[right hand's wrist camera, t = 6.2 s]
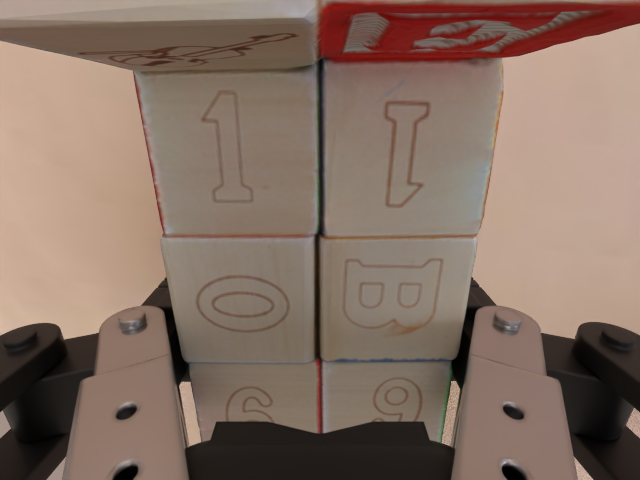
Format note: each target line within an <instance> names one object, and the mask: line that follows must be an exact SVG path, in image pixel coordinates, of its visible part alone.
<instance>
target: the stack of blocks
mask: <svg viewBox="0 0 640 480" xmlns="http://www.w3.org/2000/svg"><path fill="white" fill-rule="evenodd" d="M639 23H640V0H0V41H4V42H9V43H13V44H18V45H22V46H27V47H31V48H36V49H40V50H45V51H50V52H54V53H59V54H64V55H68V56H73V57H77V58H82V59H87V60H91V61H95V62H100V63H104V64H108V65H112V66H116V67H120V68H125V69H129V70H133V74H134V81H135V87H136V93H137V98H138V103H139V108H140V113H141V118H142V124H143V129H144V135H145V140H146V145H147V150H148V156H149V161H150V166H151V172H152V177H153V182H154V188H155V194H156V199H157V205H158V210H159V215H160V221H161V225H162V229H163V232H164V233H163V236H162V238H161V249H162V254H163V260H164V265H165V270H166V276H167V281H168V286H169V292H170V297H171V302H172V308H173V313H174V318H175V323H176V328H177V333H178V339H179V344H180V349H181V354H182V358H183V359H184V361H186V362H187V363H188V364H189V372H190V380H191V387H192V392H193V398H194V402H195V407H196V414H197V421H198V425H199V428H200V436H201V441H202V442H204V441H208V440H210V439H211V436H212V433H213V430H214V427H215V424H216V421H267V422H271V423H276V424H280V425H284V426H288V427H292V428H296V429H300V430H305V431H309V432H313V433H327V432H331V431H335V430H340V429H344V428H348V427H352V426H356V425H360V424H364V423H369V422H373V421H424V424H425V427H426V430H427V433H428V436H429V439H430V440H432V441H436V442H439V443H441V442H442V434H443V428H444V422H445V416H446V409H447V403H448V399H449V393H450V386H451V377H452V360H453V359H455V358H456V357H457V355H458V352H459V348H460V341H461V334H462V329H463V324H464V318H465V313H466V308H467V301H468V295H469V289H470V282H471V276H472V271H473V266H474V261H475V256H476V249H477V237H476V235H477V233H478V231H479V229H480V227H481V223H482V220H483V217H484V210H485V203H486V198H487V193H488V187H489V181H490V175H491V169H492V162H493V155H494V148H495V142H496V135H497V129H498V123H499V116H500V110H501V104H502V98H503V64H502V58H503V57H514V56H520V55H524V54H527V53H531V52H534V51H538V50H541V49H545V48H548V47H550V46H553V45H556V44H561V43H565V42H570V41H574V40H577V39H580V38H583V37H587V36H593V35H600V34H603V33H606V32H609V31H613V30H616V29H619V28H623V27H626V26H631V25H635V24H639Z"/></svg>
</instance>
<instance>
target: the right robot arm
mask: <svg viewBox="0 0 640 480" xmlns="http://www.w3.org/2000/svg"><path fill="white" fill-rule="evenodd" d="M451 381H456V382H457V384H458V386H459V388H460V394H459V399H458V405H457V411H456V417H455V422H454V428H453V434H452V440H451V446H448V445H445V444H442V443H439V442H436V441H432V440H430V439H429V436H428V433H427V430H426V427H425V424H424V421H373V422H369V423H364V424H360V425H356V426H352V427H348V428H344V429H340V430H335V431H331V432H327V433H313V432H309V431H305V430H300V429H296V428H292V427H288V426H284V425H280V424H276V423H271V422H267V421H216V424H215V427H214V430H213V433H212V436H211V439H210V440H208V441H204V442H201V443H198V444H195V445H192V446H189V440H188V434H187V428H186V422H185V417H184V411H183V405H182V399H181V394H180V389H179V385H180V383H181V382H191V380H190V372H189V364H188V363H187V362H186V361H184V359H183V358H182V354H181V349H180V344H179V339H178V333H177V328H176V323H175V318H174V313H173V308H172V302H171V297H170V292H169V286H168V281H167V277H166V278H165V280H164V281H162V282H161V284H160V285H159V286H158V288H156V289H155V290H154V292H153V293H152V294H151V295H150V296H149V297H148V298H147V299H146V301H145V302H144V303H143V304H142V305H141V306H137V307H132V308H128V309H125V310H122V311H120V312H118V313H116V314H114V315H112V316H111V317H109V318H108V319H107V320H105V321H104V322H103V324H102V325H101V327H100V330H99V333H96V334H92V335H86V336H81V337H76V338H70V339H65V340H64V339H63V336H62V333H61V330H60V328H59V326H57V325H55V324H51V323H38V324H32V325H27V326H24V327H20V328H17V329H14V330H12V331H9V332H7V333H5V334H3V335H1V336H0V412H1V411H2V410H3V412H4V414H5V416H6V418H7V420H8V422H9V425H10V427H11V429H10V430H9V431H8V432H7V433H6V434H5V435H4V436H3V437H1V438H0V480H46V479H47V478H48V477H49V476H50V475H51V474H52V472H53V471H54V470H55V469H56V468H57V466H58V465H59V464H60V463H61V462H62V460H63V459H64V458H65V457H66V461H65V466H64V472H63V477H62V480H578V477H577V472H576V466H575V461H574V457H575V458H576V459H577V460H578V462H579V463H580V464H581V465H582V466H583V468H584V469H585V470H586V471H587V472H588V474H589V475H590V476H591V477H592V478H593V480H640V438H639V437H637V436H636V435H635V434H634V433H633V432H632V431H631V430H630V429H629V428H628V427H627V426H626V424H627V421H628V419H629V417H630V415H631V413H632V411H633V408H636V409H637V410H638V411H639V412H640V335H638V334H636V333H634V332H632V331H629V330H627V329H624V328H621V327H618V326H615V325H611V324H607V323H600V322H588V323H584V324H582V325H580V326H579V328H578V331H577V334H576V337H575V339H570V338H565V337H560V336H554V335H549V334H544V333H541V330H540V327H539V325H538V324H537V323H536V321H535V320H533V319H532V318H531V317H529V316H528V315H526V314H524V313H522V312H520V311H518V310H515V309H512V308H508V307H503V306H497V305H496V304H495V303H494V302H493V301H492V300H491V298H490V297H489V296H488V295H487V294H486V293H485V292H484V290H483V289H482V288H481V287H479V285H478V283H477V282H476V281H475V280H473V278H472V277H471V282H470V289H469V295H468V301H467V308H466V313H465V318H464V324H463V329H462V334H461V341H460V348H459V352H458V355H457V357H456V358H455V359H453V360H452V377H451Z"/></svg>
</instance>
